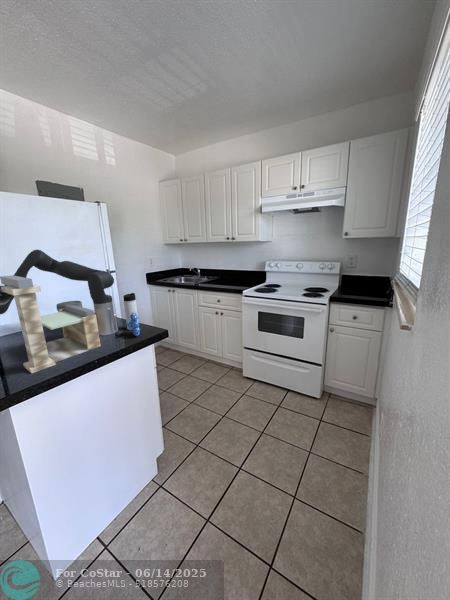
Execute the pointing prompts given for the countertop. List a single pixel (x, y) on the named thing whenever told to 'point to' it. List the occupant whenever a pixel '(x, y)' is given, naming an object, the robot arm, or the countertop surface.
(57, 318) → the trapdoor
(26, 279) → the slate block
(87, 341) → the trapdoor frame
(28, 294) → the tall stand
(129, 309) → the travel mug
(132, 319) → the grapes
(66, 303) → the grey rounded piece
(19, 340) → the countertop surface
